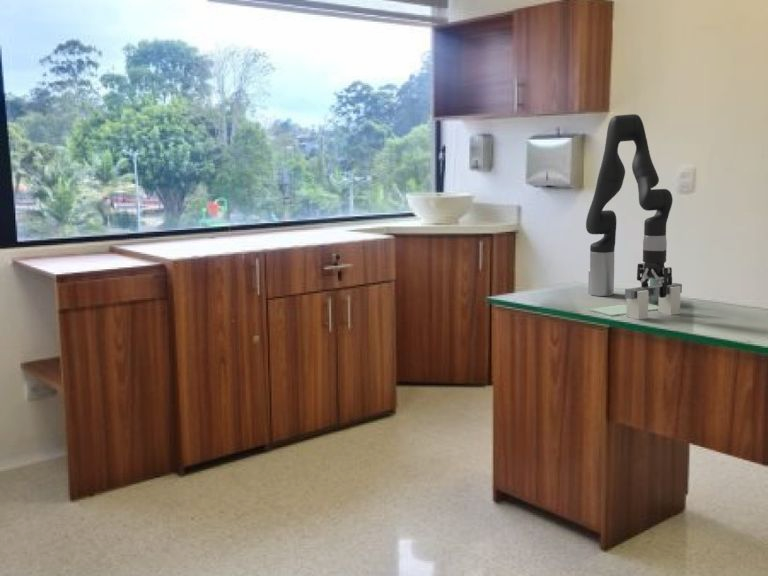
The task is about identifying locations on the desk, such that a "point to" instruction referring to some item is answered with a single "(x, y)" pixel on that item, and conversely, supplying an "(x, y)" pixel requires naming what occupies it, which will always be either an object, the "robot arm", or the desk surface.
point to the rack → (666, 305)
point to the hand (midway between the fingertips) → (653, 295)
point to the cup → (653, 283)
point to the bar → (651, 290)
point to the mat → (618, 309)
